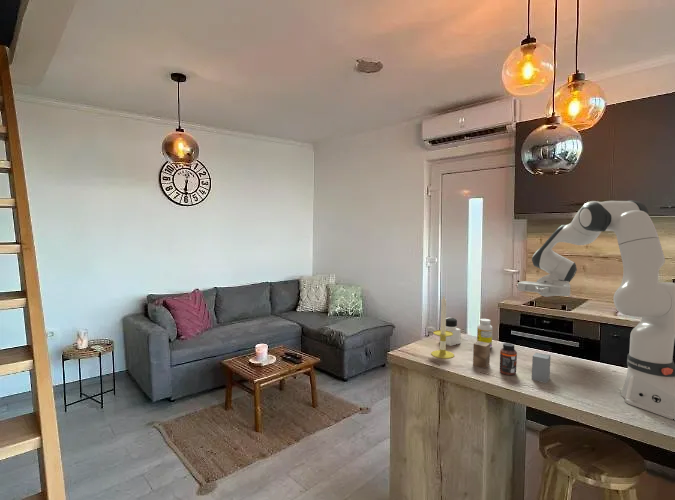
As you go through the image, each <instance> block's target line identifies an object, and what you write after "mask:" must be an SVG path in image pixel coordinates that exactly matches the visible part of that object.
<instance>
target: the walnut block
mask: <svg viewBox="0 0 675 500" xmlns="http://www.w3.org/2000/svg"><path fill="white" fill-rule="evenodd" d="M490 354H491V348H490V343H485V342H480V341H477V340H476V342H474V343H473V353H472V357H473V358H472V359H473V360H472V366H474V367H477V368H482V369H487V368H488V367H490V364H491V363H490V360H491V357H490V356H491V355H490Z"/></svg>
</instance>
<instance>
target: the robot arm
mask: <svg viewBox="0 0 675 500" xmlns="http://www.w3.org/2000/svg"><path fill="white" fill-rule="evenodd" d="M602 232H613V233H614V234H615V236H616V240H617V245H618V249H619V252H620V257H621V261H622V267H623V268H622V269H623V274H622V279H621V283H620V285H619V286H618V288H617V289H616V290H615V292H614V294H613V300H612V301H613V304H614V307H615V309H616V310H617V311H618V312H619V313H620V314H622V315H624V316H628V317H633V318H638V319H639V318H640V321H639V322H638V324H637V325H636V326H635V327H633V328H632V330H631V332H630V335H629V336H630V338H629V353H627V358H626V367H627V371H626V377H625V381H624V384H623V388H622V389H621V392H620V395H621V397H622V398H624V402H625V403H626V404H628V405H630V406H633V407H636V408H640V409H643V410H644V411H647V412H651V413H654V414H656V415H659V416H662V417H664V418H667V419H670V420H673V419H674V420H673V421H675V362H674V360H673V359H674V358H673V356H674V346H675V282H671V281H670V282H669V281H667V282H666V281H665V282H659V272H660V269H662V267H663V266H664V264H665V262H666V257H665V255H664V250H663V247H662V245H661V240H660V237H659V234H658V231H657V229H656V227H655V224H654V222H653V220H652V218H651V217H650V215H649V210H648V207H647V206H646V205H645V204H644V203H643V202H641V201H636V200H606V201H598V200H591V201H587V202H586V203H584V204H583V205H582V206H581V208H580V209H578V211H577V212H576V213H575V216H574V217H573V218H572V221H571V222H570V223H568V224H561V225H560V226H558V228H557V229H555V231H554V232H553V233H551V235H550V236H549V238H547V240H546V241H545V242H544V243H543V244H542V246H540V247H539V248H538V249H537V250H536V251H535V252H534V253H533V255H532V257H531V261H532V264H533V267H536V268H537V269H539V270H542V271H544V272H545V273H547V274H546V275H543V276H541V277H540V278H538V279H537V280H536V281H527V280H526V281H525V280H524V281H522V280H521V281H519V282H517V291H520V292H529V293H537V294H539V295H540V296H542V297H545V298H548V297H569V296H571V287H572V286H571V284H570V282H571V281H572V280H573V279H574V278H575V276H576V274H577V271H578V268H577V265H576V262H574V261H572V260H570V259H569V258H567V257H565V256H562V255H561V254H559V253H557V252H555V251H554V250H553V249H554V247H555V246H556V245H557V244H559V243H566V244H571V245H576V246H585V245H589V244H592V243H594V241H596V240H597V238H598V237H599V236H600V235H601V233H602Z"/></svg>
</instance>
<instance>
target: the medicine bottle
mask: <svg viewBox="0 0 675 500" xmlns="http://www.w3.org/2000/svg"><path fill="white" fill-rule="evenodd" d="M439 330H441V327H440V328H439ZM446 331H450V332H452V333H453V335H452V336H448V337H446V346H450V347H452V346H455V345H456V344H457V345H460V344H461V342H462V341H461V338H462V337H461V335H462V334H461V332H462V329H461V328H458V320H457V318H454V317H446Z"/></svg>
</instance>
